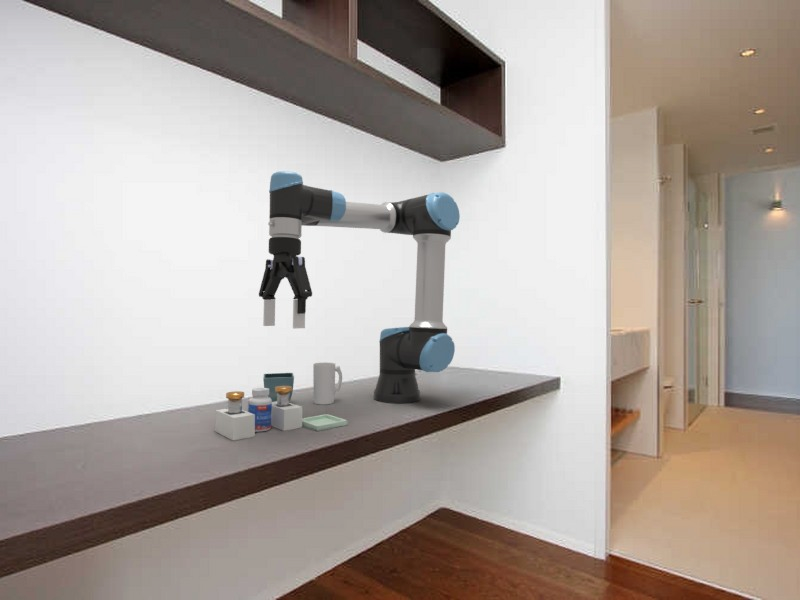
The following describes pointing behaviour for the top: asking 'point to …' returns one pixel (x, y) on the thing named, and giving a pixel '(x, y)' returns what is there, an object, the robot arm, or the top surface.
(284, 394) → the plunger
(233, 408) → the plunger
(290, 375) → the flower pot
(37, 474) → the top surface
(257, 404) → the pill bottle
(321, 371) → the mug
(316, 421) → the tray
